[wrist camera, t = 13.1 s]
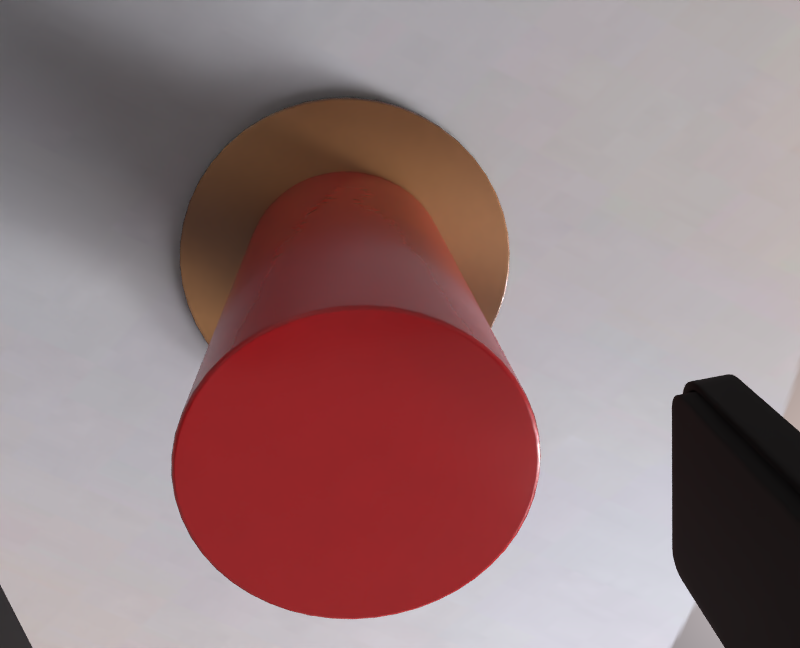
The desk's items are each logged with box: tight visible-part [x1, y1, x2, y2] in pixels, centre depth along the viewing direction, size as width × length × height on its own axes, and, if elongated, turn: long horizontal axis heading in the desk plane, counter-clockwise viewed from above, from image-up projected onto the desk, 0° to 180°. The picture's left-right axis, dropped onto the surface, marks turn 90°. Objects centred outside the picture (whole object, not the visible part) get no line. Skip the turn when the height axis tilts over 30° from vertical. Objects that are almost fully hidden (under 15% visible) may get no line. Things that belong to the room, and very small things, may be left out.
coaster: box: [180, 98, 510, 344], centre depth 22 cm, size 10×10×1 cm
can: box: [171, 171, 541, 619], centre depth 17 cm, size 6×6×11 cm
